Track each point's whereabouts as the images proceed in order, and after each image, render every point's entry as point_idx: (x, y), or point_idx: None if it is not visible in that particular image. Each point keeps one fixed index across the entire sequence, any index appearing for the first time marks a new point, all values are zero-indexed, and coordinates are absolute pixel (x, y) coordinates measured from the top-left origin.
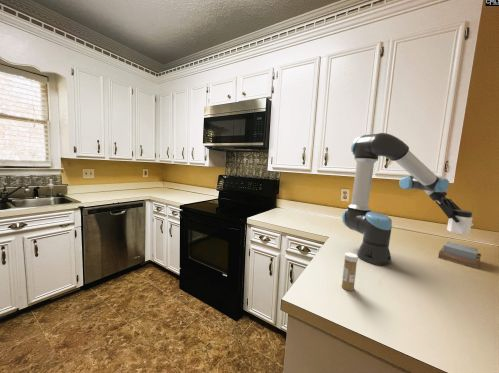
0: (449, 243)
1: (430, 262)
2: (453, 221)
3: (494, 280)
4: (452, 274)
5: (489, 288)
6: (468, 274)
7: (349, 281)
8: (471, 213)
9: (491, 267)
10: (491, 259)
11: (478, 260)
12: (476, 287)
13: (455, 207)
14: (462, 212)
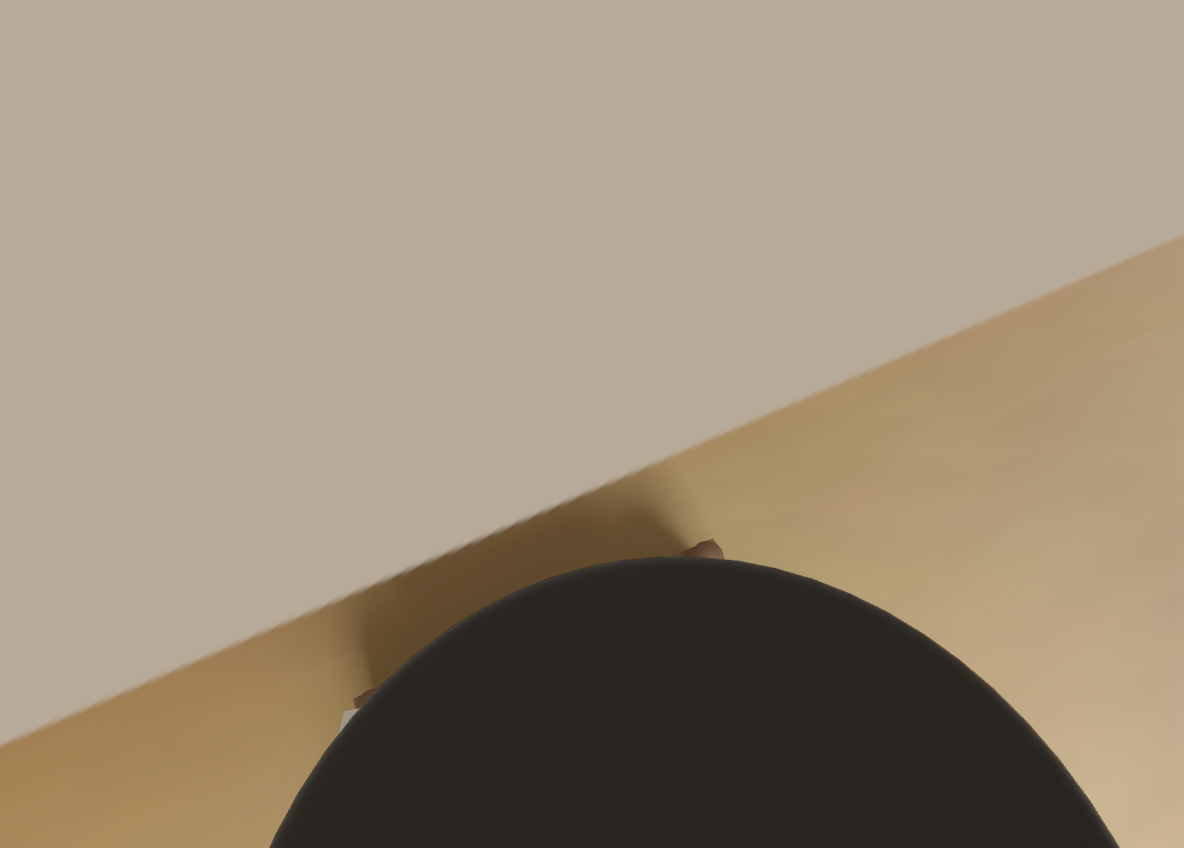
0: None
1: (1178, 820)
2: None
3: (825, 389)
4: (1162, 536)
5: (1043, 322)
6: (969, 506)
7: None
8: (641, 562)
9: (468, 566)
10: (109, 725)
11: (713, 543)
12: (1150, 349)
13: None
14: (1031, 740)
